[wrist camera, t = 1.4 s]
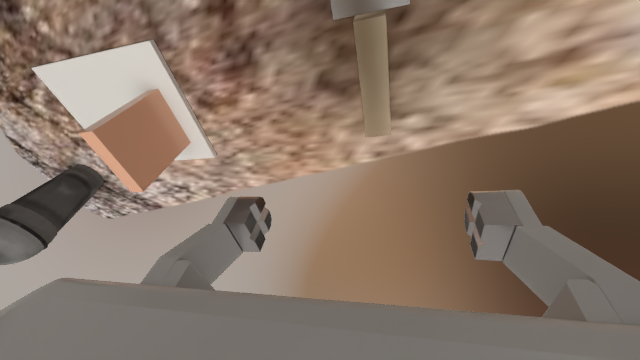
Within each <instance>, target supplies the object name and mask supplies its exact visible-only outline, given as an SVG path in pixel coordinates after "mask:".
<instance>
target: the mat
mask: <svg viewBox="0 0 640 360" xmlns="http://www.w3.org/2000/svg"><path fill="white" fill-rule="evenodd" d="M32 70H33V71H34V72H35V73H36V74H37V75H38V77H39V78H40V79H41V80H42V81H43V82H44V83H45V85H46V86H47V87H48V88H49V89H50V90H51V91H52V93H53V94H54V95H55V96H56V97H57V98H58V99H59V101H60V102H61V103H62V104H63V105H64V106H65V108H66V109H67V110H68V111H69V112H70V113H71V114H72V116H73V117H74V118H75V119H76V120H77V121H78V122H79V124H80V125H81V126H82V127H83V128H84V129H86V128H87V127H89V126H91V125H92V124H94V123H95V122H97V121H99V120H100V119H102V118H104V117H105V116H107V115H108V114H110V113H112V112H113V111H115V110H117V109H118V108H120V107H121V106H123V105H125V104H126V103H128V102H130V101H131V100H133V99H134V98H136V97H138V96H139V95H141V94H143V93H144V92H146V91H149V90H155V89H159V91H160V92H161V94H162V96H163V97H164V99H165V101H166V102H167V104H168V106H169V107H170V109H171V111H172V112H173V114H174V116H175V117H176V119H177V121H178V122H179V124H180V125H181V127H182V129H183V130H184V132H185V134H186V135H187V137H188V139H189V140H190V142H191V143H190V144H189V145H188V146H187V147H186V148H185V149H184V150H183V151H182V152H181V153H180V154H179V155H178V156H177V157H176V158H175V160H174V161H176V160H189V159H202V158H214V157H216V155H217V154H216V152H215V150H214V149H213V147H212V145H211V143H210V141H209V140H208V138H207V136H206V134H205V132H204V130H203V129H202V127H201V125H200V123H199V121H198V120H197V118H196V116H195V114H194V112H193V110H192V109H191V107H190V105H189V103H188V101H187V100H186V98H185V96H184V94H183V92H182V90H181V89H180V87H179V85H178V83H177V81H176V80H175V78H174V76H173V74H172V72H171V71H170V69H169V67H168V65H167V63H166V61H165V60H164V58H163V56H162V54H161V52H160V51H159V49H158V47H157V45H156V43H155V41H154V40H153V39H152V40H148V41H143V42H139V43H135V44H130V45H126V46H122V47H118V48H113V49H109V50H105V51H100V52H96V53H92V54H87V55H83V56H79V57H75V58H70V59H66V60H62V61H57V62H53V63H49V64H44V65H40V66H36V67H33V68H32Z"/></svg>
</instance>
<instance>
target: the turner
mask: <svg viewBox="0 0 640 360" xmlns="http://www.w3.org/2000/svg"><path fill="white" fill-rule="evenodd" d="M330 1H331V8H332V14H333V20H337V19H342V18H346V17H351V16H355V17H354V20H353V28H354V36H355V45H356V54H357V63H358V72H359V81H360V90H361V98H362V107H363V116H364V125H365V134H366V137H373V136H384V135H391V118H390V95H389V71H388V48H387V25H386V9H389V8H394V7H399V6H403V5H408V4H410V0H330Z"/></svg>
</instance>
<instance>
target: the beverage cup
mask: <svg viewBox="0 0 640 360" xmlns="http://www.w3.org/2000/svg"><path fill="white" fill-rule="evenodd" d="M103 183H104V181H103V179H102V177H101V176H100V175H99V174H98V173H97V172H96V171H95V170H93V169H91V168H90V167H87V166H85V165H76V166H74V167H73V168H71V169H69V170H66V171H65V172H63V173H61V174H60V175H58V176H56V177H55V178H53V179H51V180H50V181H48V182H46V183H44V184H43V185H41V186H39V187H38V188H36V189H34V190H33V191H31V192H29V193H27V194H26V195H24V196H22V197H21V198H19V199H17V200H16V201H14V202H12V203H11V204H7V205H5V206H3V207H1V208H0V265H7V264H13V263H17V262H21V261H23V260H26V259H29V258H31V257H33V256H34V255H36V254H38V253H39V252H40V251H42V250H44V249H46V248H47V247H48V244H49V243H50V242H51V241H52V240H53V239H54V237H55V236H56V235H57V232H58V231H59V230H60V229H61V228H62V227H63V226H64V225H65V224H66V223H67V222H68V221H69V220H70V219H71V218H72V217H73V216H74V215H75V213H76V212H78V211H79V210H80V209H81V208H82V207H83V205H84V204H85V203H86V202H87V201H88V200H89V199H90V198H91V197H92V196H93V195H94V194H95V193H96V192H97V190H98V189H99V188H100V187H101V186H102V185H103Z"/></svg>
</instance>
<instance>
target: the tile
mask: <svg viewBox="0 0 640 360" xmlns="http://www.w3.org/2000/svg"><path fill="white" fill-rule="evenodd" d="M79 134H80V135H81V136H82V138H83V139H84V140H85V141H86V142H87V143H88V144H89V145H90V147H91V148H92V149H93V150H94V151H95V152H96V153H97V154H98V155H99V157H100V158H101V159H102V160H103V161H104V162H105V163H106V164H107V165H108V167H109V168H110V169H111V170H112V171H113V172H114V173H115V174H116V176H117V177H118V178H119V179H120V180H121V181H122V182H123V183H124V184H125V186H126V187H127V188H128V189H129V190H130V191H131V192H143V191H144V190H145V189H146V188H147V187H148V186H149V185H150V184H151V183H152V182H153V181H154V180H155V179H156V178H157V177H158V176H159V175H160V174H161V173H162V172H163V171H164V170H165V169H166V168H167V167H168V166H169V165H170V164H171V163H172V162H173V161H174V160H175V158H176V157H177V156H178V155H179V154H180V153H181V152H182V151H183V150H184V149H185V148H186V147H187V146H188V145H189V144H190V143H191V142H190V140H189V139H188V137H187V135H186V134H185V132H184V130H183V129H182V127H181V125H180V124H179V122H178V121H177V119H176V117H175V116H174V114H173V112H172V111H171V109H170V107H169V106H168V104H167V102H166V101H165V99H164V97H163V96H162V94H161V92H160V91H159V89H155V90H149V91H146V92H144V93H143V94H141V95H139V96H138V97H136V98H134V99H133V100H131V101H130V102H128V103H126V104H125V105H123V106H121V107H120V108H118V109H117V110H115V111H113V112H112V113H110V114H108V115H107V116H105V117H104V118H102V119H100V120H99V121H97V122H95V123H94V124H92V125H91V126H89V127H87V128H86V129H84V130H82V131H81V132H79Z"/></svg>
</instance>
